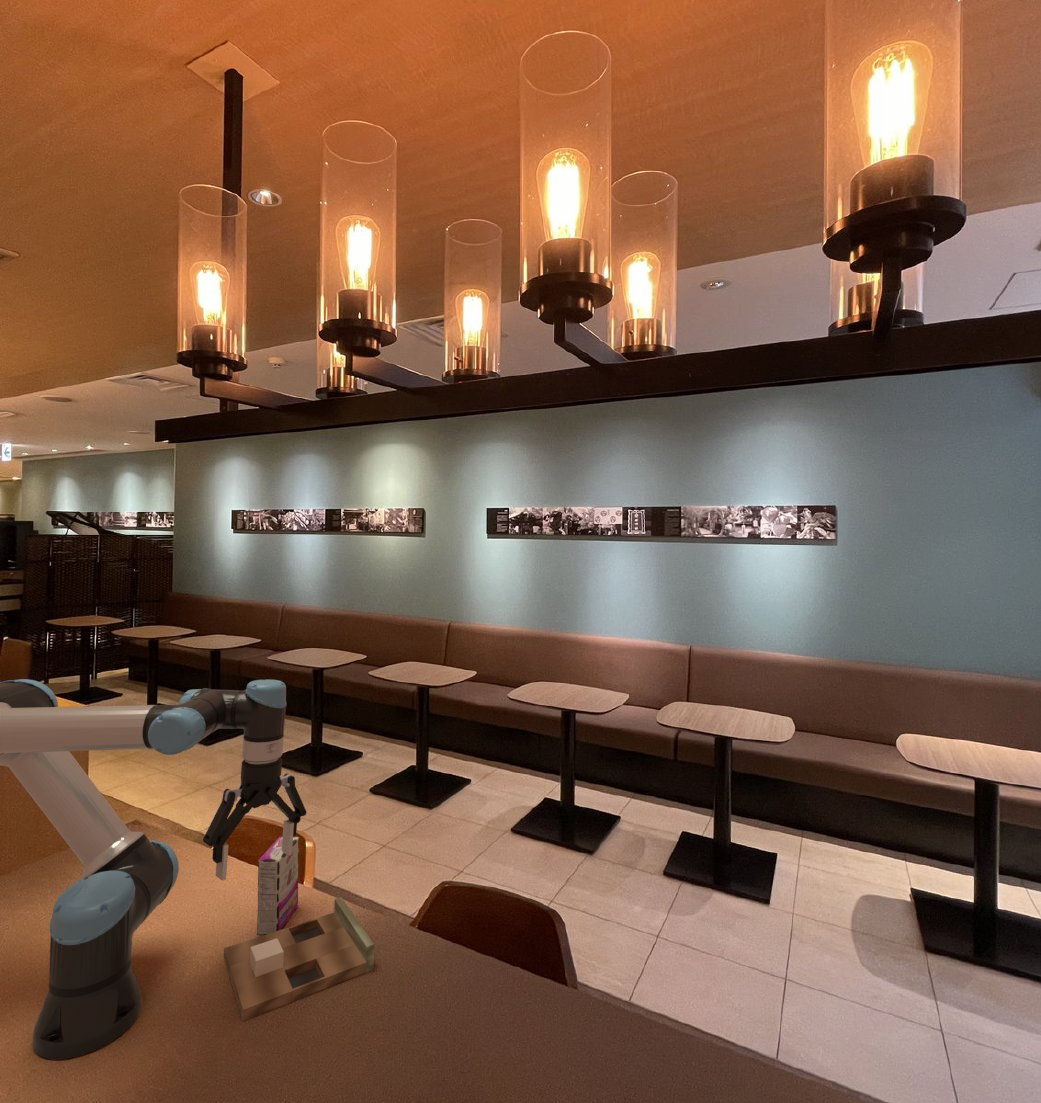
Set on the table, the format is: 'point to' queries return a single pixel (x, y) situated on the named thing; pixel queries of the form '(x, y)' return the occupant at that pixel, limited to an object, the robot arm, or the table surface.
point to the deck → (301, 961)
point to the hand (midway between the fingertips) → (255, 865)
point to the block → (266, 957)
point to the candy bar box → (277, 887)
